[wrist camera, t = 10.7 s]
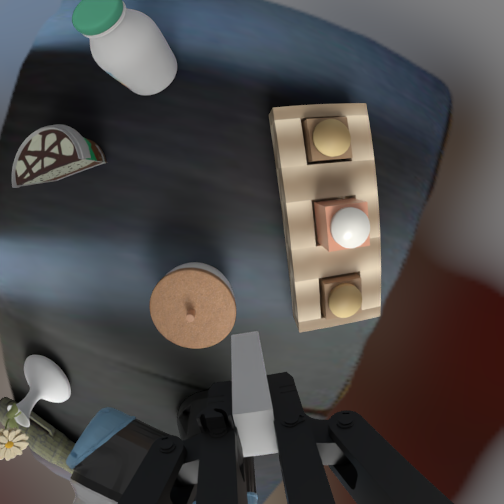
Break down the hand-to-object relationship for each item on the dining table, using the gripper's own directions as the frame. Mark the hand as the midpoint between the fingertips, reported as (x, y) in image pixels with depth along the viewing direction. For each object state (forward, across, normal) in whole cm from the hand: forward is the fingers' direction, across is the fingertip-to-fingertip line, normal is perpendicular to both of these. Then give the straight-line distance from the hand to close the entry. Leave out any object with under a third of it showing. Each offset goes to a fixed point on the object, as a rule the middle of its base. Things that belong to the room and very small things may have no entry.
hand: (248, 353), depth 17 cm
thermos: (+24, +35, +51) cm, 67 cm away
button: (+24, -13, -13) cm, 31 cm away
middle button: (+22, -12, -3) cm, 25 cm away
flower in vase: (+28, +40, +19) cm, 53 cm away
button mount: (+26, -13, -4) cm, 29 cm away
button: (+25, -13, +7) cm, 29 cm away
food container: (+27, +21, -18) cm, 39 cm away
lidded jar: (+27, +6, +5) cm, 28 cm away
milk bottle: (+26, +8, -27) cm, 39 cm away
